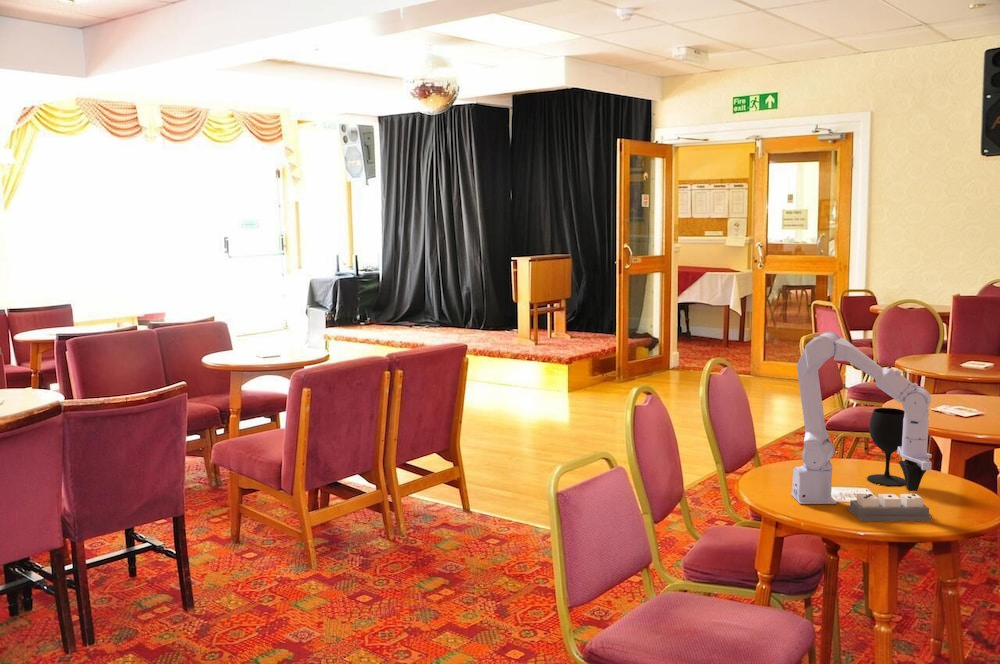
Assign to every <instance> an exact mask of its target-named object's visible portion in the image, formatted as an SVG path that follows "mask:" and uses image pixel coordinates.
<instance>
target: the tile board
mask: <svg viewBox="0 0 1000 664" xmlns="http://www.w3.org/2000/svg"><path fill="white" fill-rule="evenodd" d="M856 501H857V499H855V500H854V499H853V500H852V499H851V500H850V503H849V504H848V505H847V510H848V511H849V512H851V514H852V515H854V516H855V517H856V518H857V519H858V520H859V521H860V522H932V519H933V516H932V517H930V516H929V513H930V508H929V507H928V506H927V505H925V504H924V503H923V507H905V506H903V505H902V504H901V507H883V506H882V505H880V504H879V507H861V506H860V505H858V504H857V503H856ZM931 518H932V519H931Z"/></svg>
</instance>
